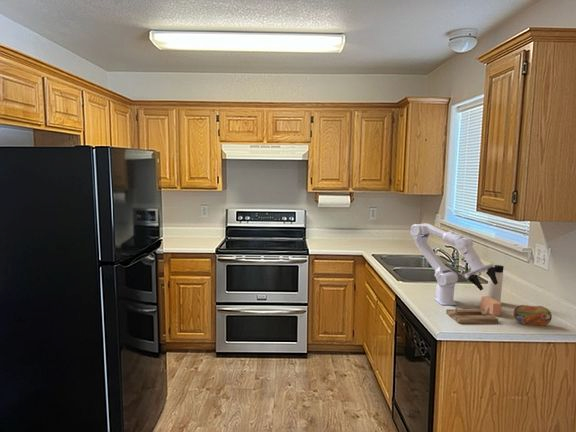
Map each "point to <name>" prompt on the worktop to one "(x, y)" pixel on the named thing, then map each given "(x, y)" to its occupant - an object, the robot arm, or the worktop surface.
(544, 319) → the tin
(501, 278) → the travel mug
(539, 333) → the worktop surface
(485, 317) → the board
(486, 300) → the bar
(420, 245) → the robot arm
